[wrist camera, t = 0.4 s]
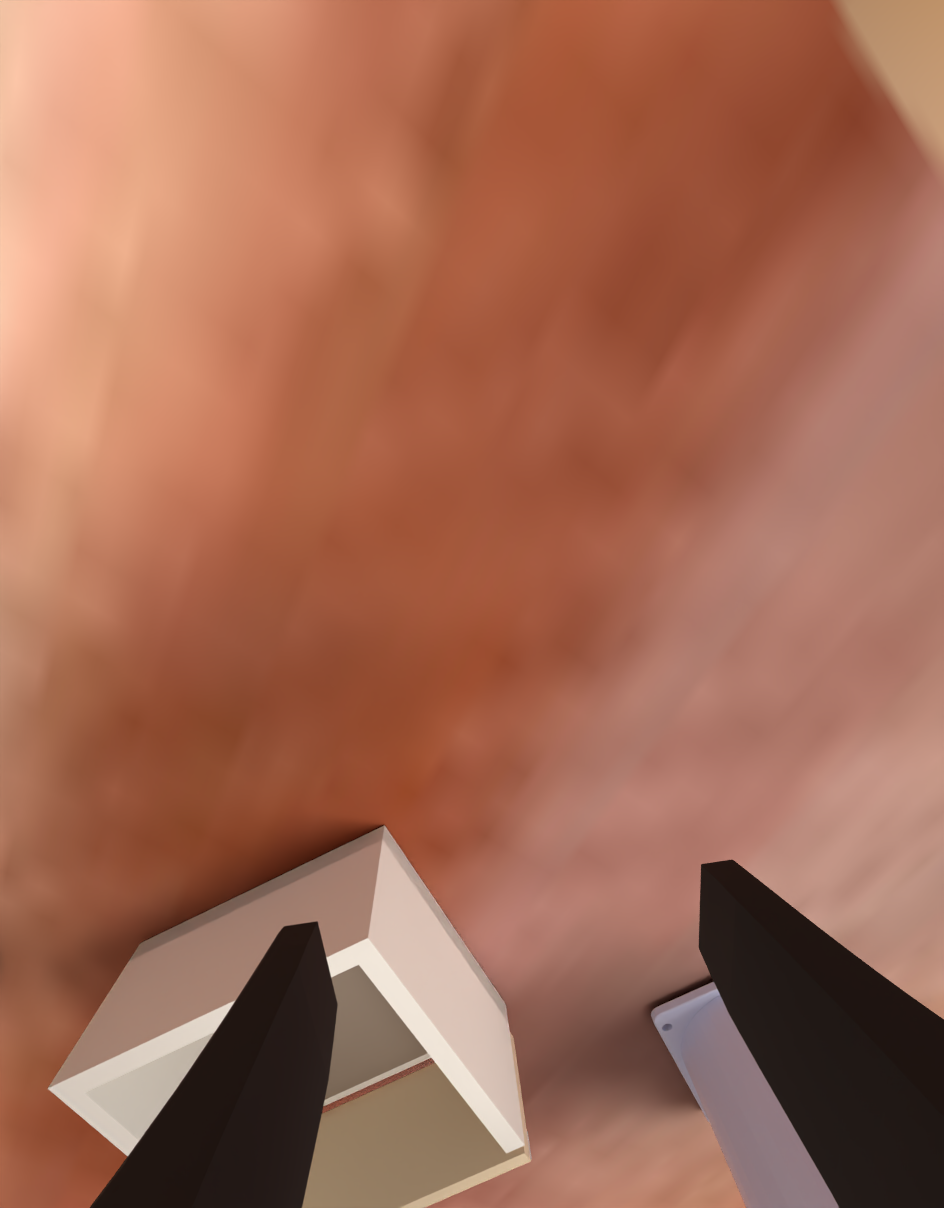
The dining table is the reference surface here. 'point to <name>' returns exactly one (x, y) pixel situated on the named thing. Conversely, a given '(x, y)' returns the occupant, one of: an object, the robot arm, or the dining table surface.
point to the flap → (406, 1146)
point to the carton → (360, 979)
